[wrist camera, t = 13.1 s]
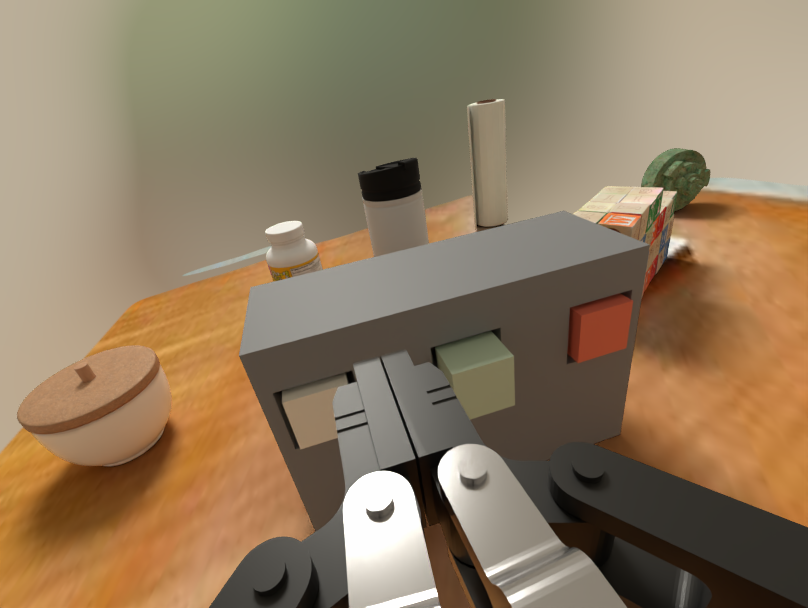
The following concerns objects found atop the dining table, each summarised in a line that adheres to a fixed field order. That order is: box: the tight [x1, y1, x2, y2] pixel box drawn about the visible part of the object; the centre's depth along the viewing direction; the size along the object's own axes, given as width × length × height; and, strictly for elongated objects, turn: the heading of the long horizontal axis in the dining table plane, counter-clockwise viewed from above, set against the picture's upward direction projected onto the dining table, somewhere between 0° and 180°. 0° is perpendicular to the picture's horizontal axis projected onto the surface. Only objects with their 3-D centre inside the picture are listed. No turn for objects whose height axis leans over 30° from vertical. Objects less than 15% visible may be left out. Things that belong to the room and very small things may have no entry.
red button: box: [567, 293, 633, 363], centre depth 27 cm, size 4×3×4 cm
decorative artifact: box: [641, 148, 710, 211], centre depth 66 cm, size 10×7×10 cm
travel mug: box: [358, 158, 429, 257], centre depth 45 cm, size 6×7×20 cm
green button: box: [435, 331, 515, 420], centre depth 24 cm, size 4×3×4 cm
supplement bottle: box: [265, 221, 323, 282], centre depth 54 cm, size 7×7×13 cm
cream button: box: [282, 372, 349, 449], centre depth 24 cm, size 4×3×4 cm
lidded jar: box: [17, 346, 172, 467], centre depth 37 cm, size 11×11×9 cm
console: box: [239, 211, 650, 531], centre depth 30 cm, size 24×8×16 cm, turn 105°
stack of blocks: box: [573, 186, 677, 296], centre depth 48 cm, size 21×6×12 cm, turn 139°
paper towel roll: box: [467, 99, 508, 230], centre depth 73 cm, size 7×6×21 cm
